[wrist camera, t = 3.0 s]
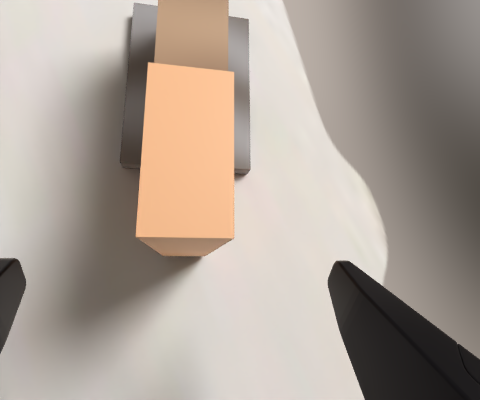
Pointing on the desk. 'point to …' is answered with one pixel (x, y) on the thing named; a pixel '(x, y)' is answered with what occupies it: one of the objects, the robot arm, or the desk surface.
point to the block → (187, 161)
